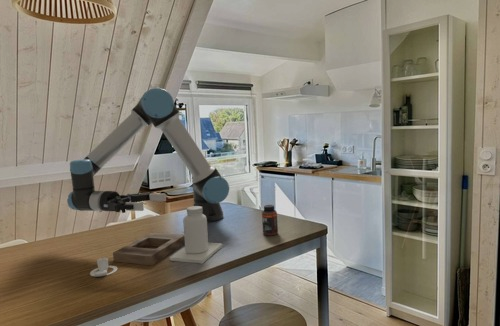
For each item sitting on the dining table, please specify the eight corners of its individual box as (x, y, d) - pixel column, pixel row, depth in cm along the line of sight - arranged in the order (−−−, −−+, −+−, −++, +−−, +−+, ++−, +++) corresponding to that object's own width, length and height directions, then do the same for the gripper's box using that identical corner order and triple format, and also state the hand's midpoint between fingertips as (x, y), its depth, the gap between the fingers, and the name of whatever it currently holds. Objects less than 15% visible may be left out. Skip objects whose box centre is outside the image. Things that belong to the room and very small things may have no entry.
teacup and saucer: (103, 280, 102) (101, 267, 102) (82, 277, 105) (80, 264, 104) (123, 268, 110) (122, 256, 110) (103, 266, 113) (101, 254, 113)
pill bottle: (213, 248, 121) (210, 205, 119) (198, 256, 114) (195, 211, 112) (195, 244, 125) (193, 204, 123) (180, 252, 118) (177, 209, 116)
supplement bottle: (278, 231, 139) (277, 203, 138) (277, 236, 133) (276, 207, 132) (263, 231, 140) (262, 204, 139) (262, 236, 134) (261, 207, 133)
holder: (152, 239, 136) (152, 232, 136) (186, 242, 131) (185, 234, 131) (113, 261, 116) (112, 252, 115) (151, 265, 111) (150, 256, 110)
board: (193, 243, 129) (193, 241, 129) (222, 246, 125) (222, 243, 125) (169, 260, 114) (169, 257, 114) (202, 263, 110) (202, 260, 110)
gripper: (128, 202, 141) (174, 203, 134) (80, 220, 118) (133, 222, 111) (126, 184, 140) (172, 184, 133) (78, 198, 117) (130, 199, 110)
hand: (154, 201), depth 122 cm, fingers open, 13 cm apart
